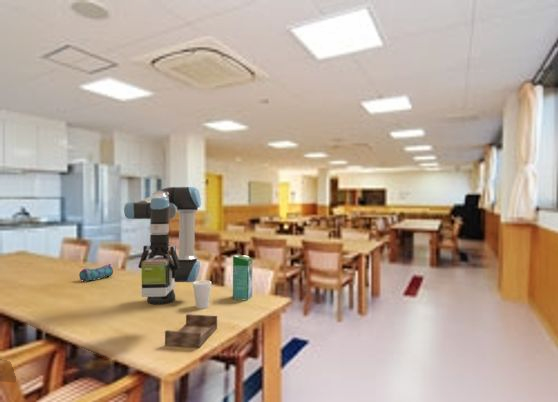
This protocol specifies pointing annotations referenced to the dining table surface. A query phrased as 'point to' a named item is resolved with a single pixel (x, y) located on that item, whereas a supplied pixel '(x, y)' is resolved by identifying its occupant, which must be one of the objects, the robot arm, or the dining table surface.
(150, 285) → the tea box
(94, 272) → the pencil case
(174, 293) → the robot arm
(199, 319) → the wooden tray
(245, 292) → the milk carton
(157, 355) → the dining table surface
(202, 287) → the foam cup
